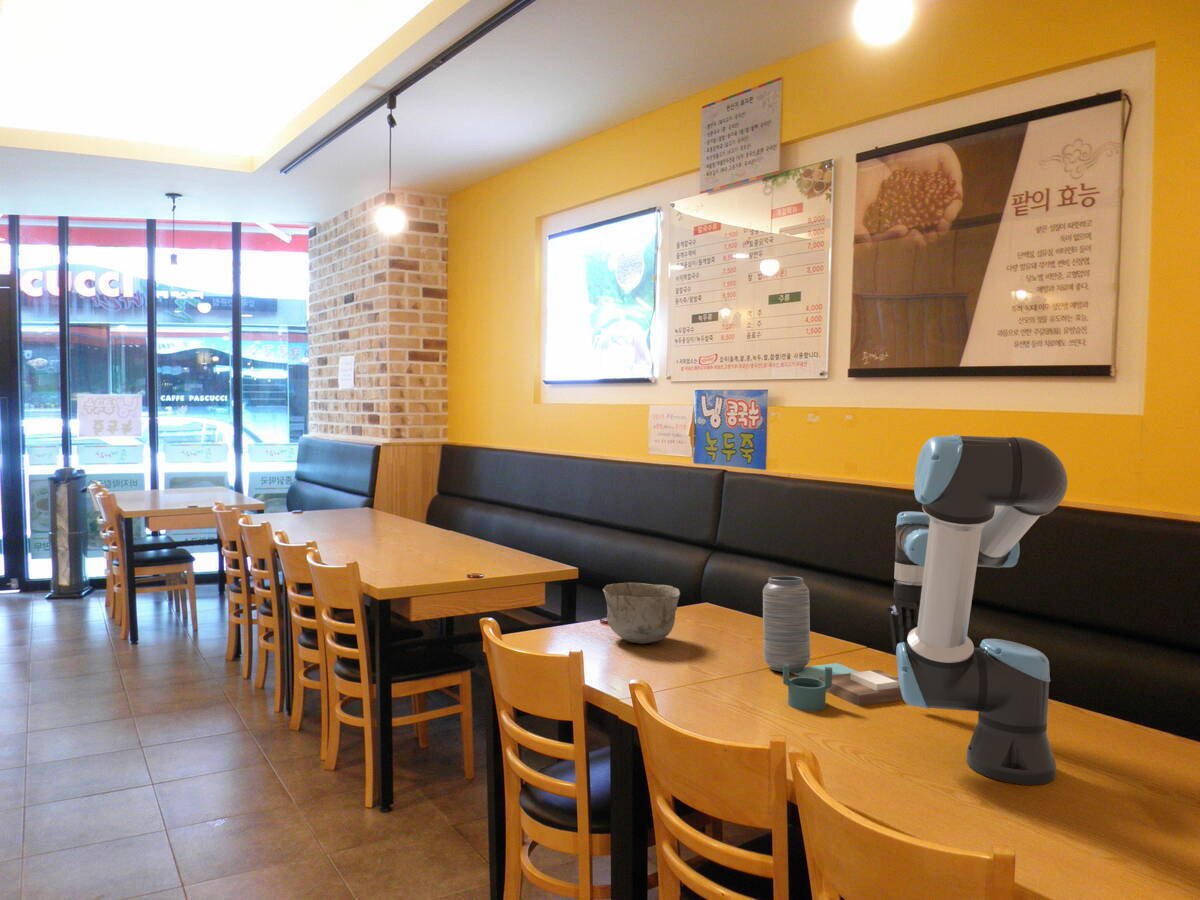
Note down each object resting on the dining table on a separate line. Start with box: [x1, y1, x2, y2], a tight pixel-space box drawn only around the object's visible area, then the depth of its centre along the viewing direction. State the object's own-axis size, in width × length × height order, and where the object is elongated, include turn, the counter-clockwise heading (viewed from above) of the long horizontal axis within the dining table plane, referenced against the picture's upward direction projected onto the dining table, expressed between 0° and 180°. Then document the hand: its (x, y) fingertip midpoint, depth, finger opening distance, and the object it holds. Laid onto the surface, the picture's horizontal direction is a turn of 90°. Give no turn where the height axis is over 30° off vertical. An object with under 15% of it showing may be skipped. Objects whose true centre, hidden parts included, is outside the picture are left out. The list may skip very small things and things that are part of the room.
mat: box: [789, 662, 859, 679], centre depth 220 cm, size 14×16×1 cm
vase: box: [762, 575, 811, 673], centre depth 225 cm, size 12×12×23 cm
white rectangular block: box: [850, 670, 897, 691], centre depth 206 cm, size 9×6×2 cm, turn 24°
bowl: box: [602, 582, 681, 645], centre depth 249 cm, size 22×22×15 cm
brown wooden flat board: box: [819, 669, 903, 707], centre depth 207 cm, size 14×18×2 cm
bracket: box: [782, 664, 832, 712], centre depth 198 cm, size 9×9×9 cm
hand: (907, 686), depth 196 cm, fingers closed
